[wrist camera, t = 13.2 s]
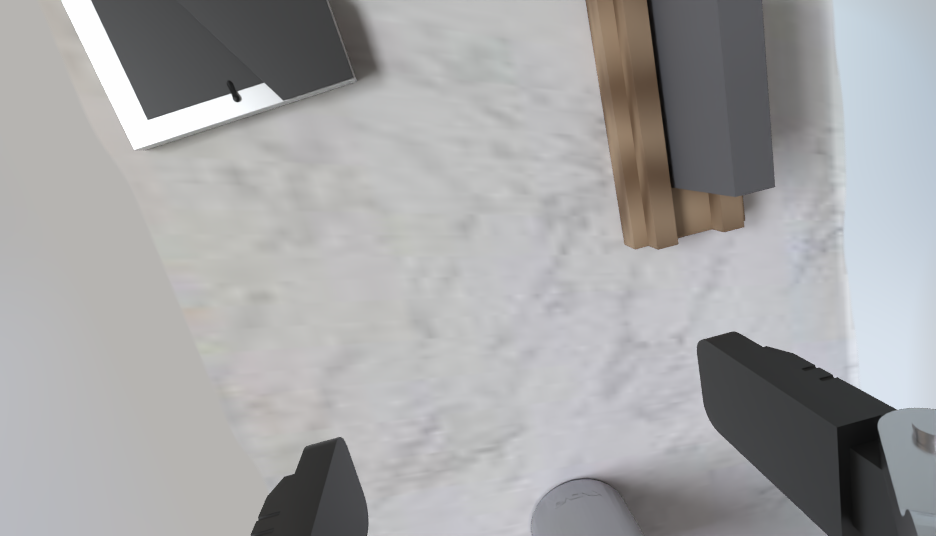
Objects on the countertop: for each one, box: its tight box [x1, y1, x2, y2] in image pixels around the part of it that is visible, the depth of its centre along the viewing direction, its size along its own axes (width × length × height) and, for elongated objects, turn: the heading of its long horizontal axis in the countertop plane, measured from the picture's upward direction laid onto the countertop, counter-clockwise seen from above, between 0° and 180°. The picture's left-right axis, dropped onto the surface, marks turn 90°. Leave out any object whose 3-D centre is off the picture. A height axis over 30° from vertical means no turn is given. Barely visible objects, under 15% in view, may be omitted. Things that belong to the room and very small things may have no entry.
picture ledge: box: [586, 0, 745, 250], centre depth 35 cm, size 22×9×4 cm, turn 14°
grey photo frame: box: [647, 0, 775, 197], centre depth 31 cm, size 14×2×8 cm, turn 13°
